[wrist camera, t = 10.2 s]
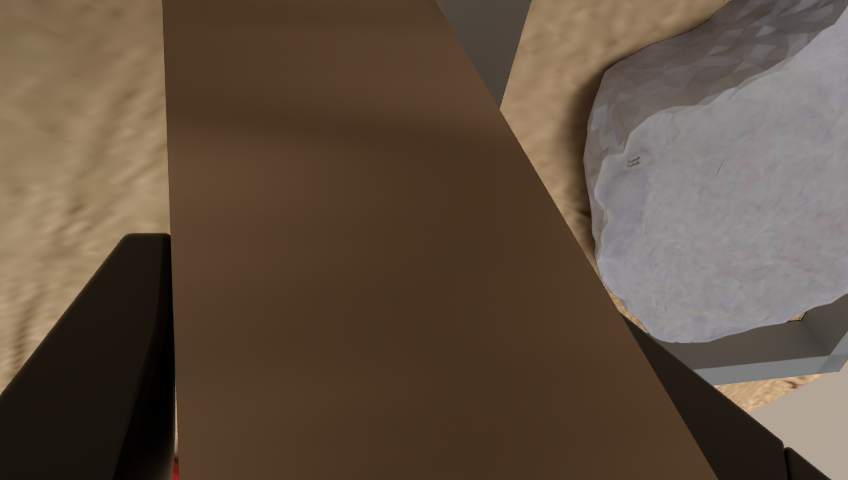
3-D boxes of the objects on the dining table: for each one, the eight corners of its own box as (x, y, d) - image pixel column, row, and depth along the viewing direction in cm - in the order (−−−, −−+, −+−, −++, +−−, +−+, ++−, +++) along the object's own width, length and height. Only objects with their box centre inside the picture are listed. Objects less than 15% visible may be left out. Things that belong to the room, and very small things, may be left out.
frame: (482, 368, 30) (497, 409, 28) (623, -125, 18) (661, -97, 17) (811, 336, 34) (839, 371, 32) (1104, -83, 22) (1168, -58, 21)
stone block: (614, 278, 31) (873, 197, 28) (641, 375, 28) (938, 294, 25) (513, 54, 23) (854, -90, 20) (533, 151, 20) (945, -5, 17)
